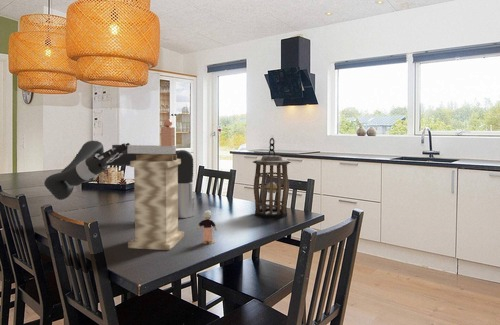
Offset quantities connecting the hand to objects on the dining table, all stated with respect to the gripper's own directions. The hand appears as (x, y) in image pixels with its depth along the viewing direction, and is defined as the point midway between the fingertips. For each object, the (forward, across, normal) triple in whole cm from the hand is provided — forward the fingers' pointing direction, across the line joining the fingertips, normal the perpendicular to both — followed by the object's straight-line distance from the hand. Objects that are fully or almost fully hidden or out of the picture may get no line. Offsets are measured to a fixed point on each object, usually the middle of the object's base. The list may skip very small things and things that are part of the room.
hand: (127, 145), depth 145 cm
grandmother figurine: (+8, -2, -48) cm, 49 cm away
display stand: (-9, 0, -38) cm, 39 cm away
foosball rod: (+4, 0, -6) cm, 7 cm away
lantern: (+26, -54, -59) cm, 84 cm away
